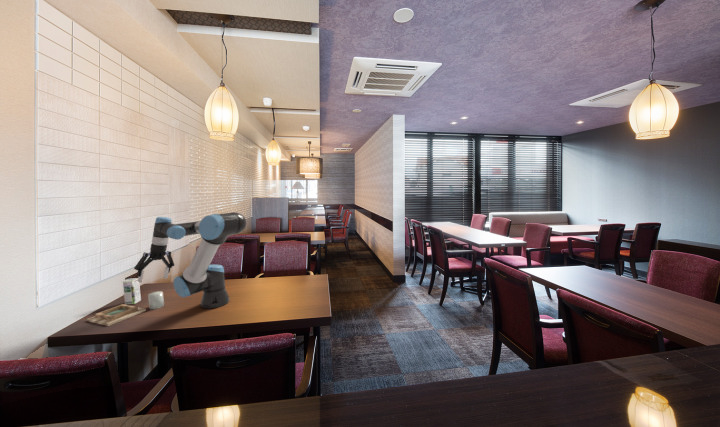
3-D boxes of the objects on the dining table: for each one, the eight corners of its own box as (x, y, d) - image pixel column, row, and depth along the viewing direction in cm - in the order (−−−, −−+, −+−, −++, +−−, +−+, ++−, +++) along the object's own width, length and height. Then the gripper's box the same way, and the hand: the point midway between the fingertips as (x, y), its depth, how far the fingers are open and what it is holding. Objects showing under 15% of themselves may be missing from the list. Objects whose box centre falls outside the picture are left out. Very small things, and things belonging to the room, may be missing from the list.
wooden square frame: (146, 311, 159) (145, 305, 158) (108, 326, 142) (107, 320, 141) (125, 307, 165) (124, 301, 164) (87, 321, 148) (86, 315, 148)
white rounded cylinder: (166, 305, 166) (165, 292, 165) (154, 310, 160) (153, 296, 159) (158, 303, 169) (157, 290, 168) (146, 308, 162) (145, 295, 161)
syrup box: (124, 304, 168) (122, 281, 167) (132, 300, 174) (129, 278, 173) (134, 304, 169) (131, 280, 167) (141, 300, 174) (139, 277, 173)
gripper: (177, 241, 173) (171, 274, 174) (130, 243, 151) (123, 281, 151) (184, 244, 170) (178, 278, 171) (138, 246, 148) (131, 285, 148)
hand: (152, 279), depth 161 cm, fingers open, 13 cm apart
